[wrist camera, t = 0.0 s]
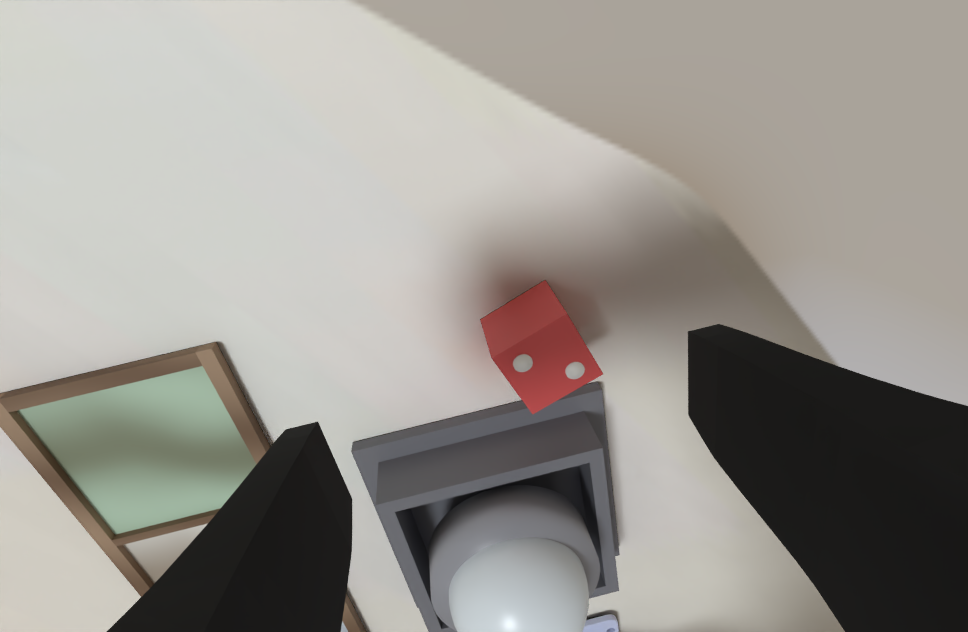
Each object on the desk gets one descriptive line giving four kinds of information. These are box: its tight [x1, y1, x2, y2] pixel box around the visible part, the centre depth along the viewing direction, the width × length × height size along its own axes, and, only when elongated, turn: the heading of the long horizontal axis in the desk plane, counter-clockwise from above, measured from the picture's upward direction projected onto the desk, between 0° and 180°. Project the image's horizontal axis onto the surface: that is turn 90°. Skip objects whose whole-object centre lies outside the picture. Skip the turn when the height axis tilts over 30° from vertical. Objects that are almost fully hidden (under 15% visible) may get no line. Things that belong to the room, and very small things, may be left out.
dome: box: [429, 485, 600, 632], centre depth 20 cm, size 7×7×6 cm
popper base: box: [352, 382, 619, 632], centre depth 23 cm, size 11×11×3 cm
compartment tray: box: [0, 342, 366, 632], centre depth 24 cm, size 23×8×1 cm, turn 11°
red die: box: [480, 280, 603, 414], centre depth 19 cm, size 3×3×3 cm
